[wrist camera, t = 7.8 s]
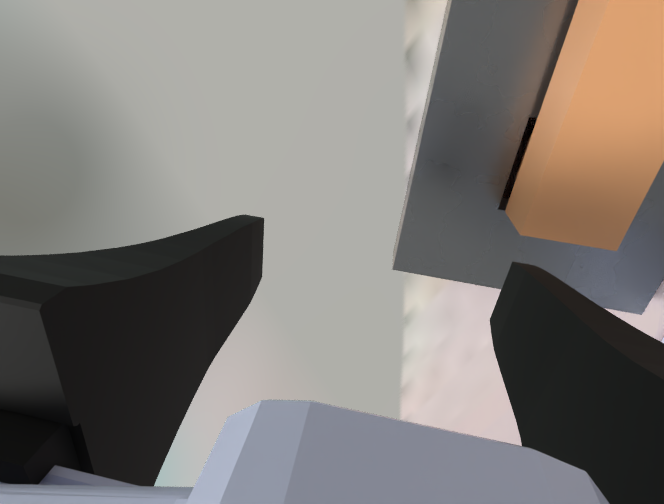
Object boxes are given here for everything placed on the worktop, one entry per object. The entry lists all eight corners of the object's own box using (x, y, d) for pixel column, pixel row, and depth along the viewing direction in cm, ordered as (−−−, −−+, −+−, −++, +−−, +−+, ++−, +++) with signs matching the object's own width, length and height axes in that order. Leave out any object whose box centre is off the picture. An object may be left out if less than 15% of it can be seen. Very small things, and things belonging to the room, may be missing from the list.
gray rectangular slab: (621, 292, 20) (641, 314, 19) (393, 252, 21) (392, 269, 20) (948, -294, 11) (1053, -360, 9) (515, -312, 12) (534, -375, 10)
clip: (566, 205, 19) (616, 251, 14) (492, 193, 19) (520, 234, 15) (706, -124, 13) (859, -214, 9) (599, -133, 13) (694, -224, 9)
